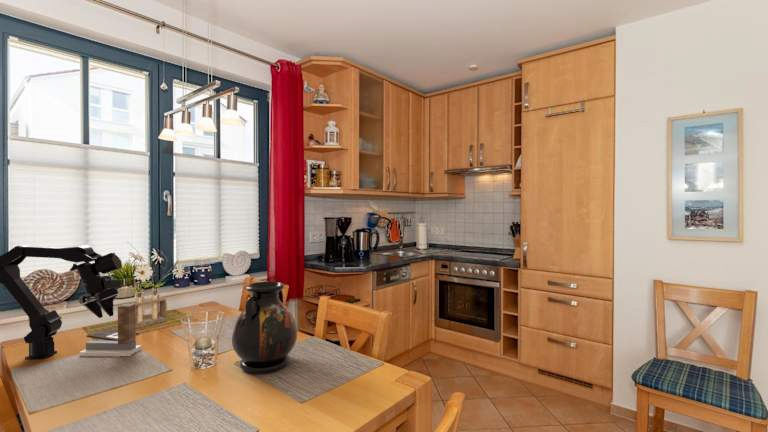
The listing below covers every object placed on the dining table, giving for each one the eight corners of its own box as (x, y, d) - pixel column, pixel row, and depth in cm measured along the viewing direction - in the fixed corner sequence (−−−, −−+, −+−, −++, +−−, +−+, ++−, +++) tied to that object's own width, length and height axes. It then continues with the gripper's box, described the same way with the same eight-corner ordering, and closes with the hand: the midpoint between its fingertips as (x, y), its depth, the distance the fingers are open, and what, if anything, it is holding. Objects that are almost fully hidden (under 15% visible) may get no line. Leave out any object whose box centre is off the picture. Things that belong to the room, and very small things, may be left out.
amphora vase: (272, 383, 116) (272, 293, 115) (217, 373, 123) (217, 288, 122) (308, 357, 136) (308, 281, 136) (259, 349, 143) (259, 277, 143)
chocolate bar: (108, 328, 165) (138, 333, 160) (108, 330, 165) (138, 335, 160) (86, 335, 157) (118, 340, 151) (86, 337, 157) (118, 342, 151)
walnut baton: (117, 344, 137) (117, 306, 137) (124, 340, 141) (123, 303, 141) (129, 343, 137) (129, 306, 137) (135, 340, 141) (135, 303, 141)
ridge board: (79, 356, 136) (79, 345, 136) (94, 348, 143) (94, 338, 143) (128, 356, 136) (128, 345, 136) (141, 349, 143) (141, 338, 143)
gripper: (125, 267, 141) (140, 305, 143) (104, 273, 151) (118, 309, 152) (92, 278, 132) (108, 319, 133) (71, 284, 141) (86, 322, 143)
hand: (106, 316), depth 141 cm, fingers open, 9 cm apart
